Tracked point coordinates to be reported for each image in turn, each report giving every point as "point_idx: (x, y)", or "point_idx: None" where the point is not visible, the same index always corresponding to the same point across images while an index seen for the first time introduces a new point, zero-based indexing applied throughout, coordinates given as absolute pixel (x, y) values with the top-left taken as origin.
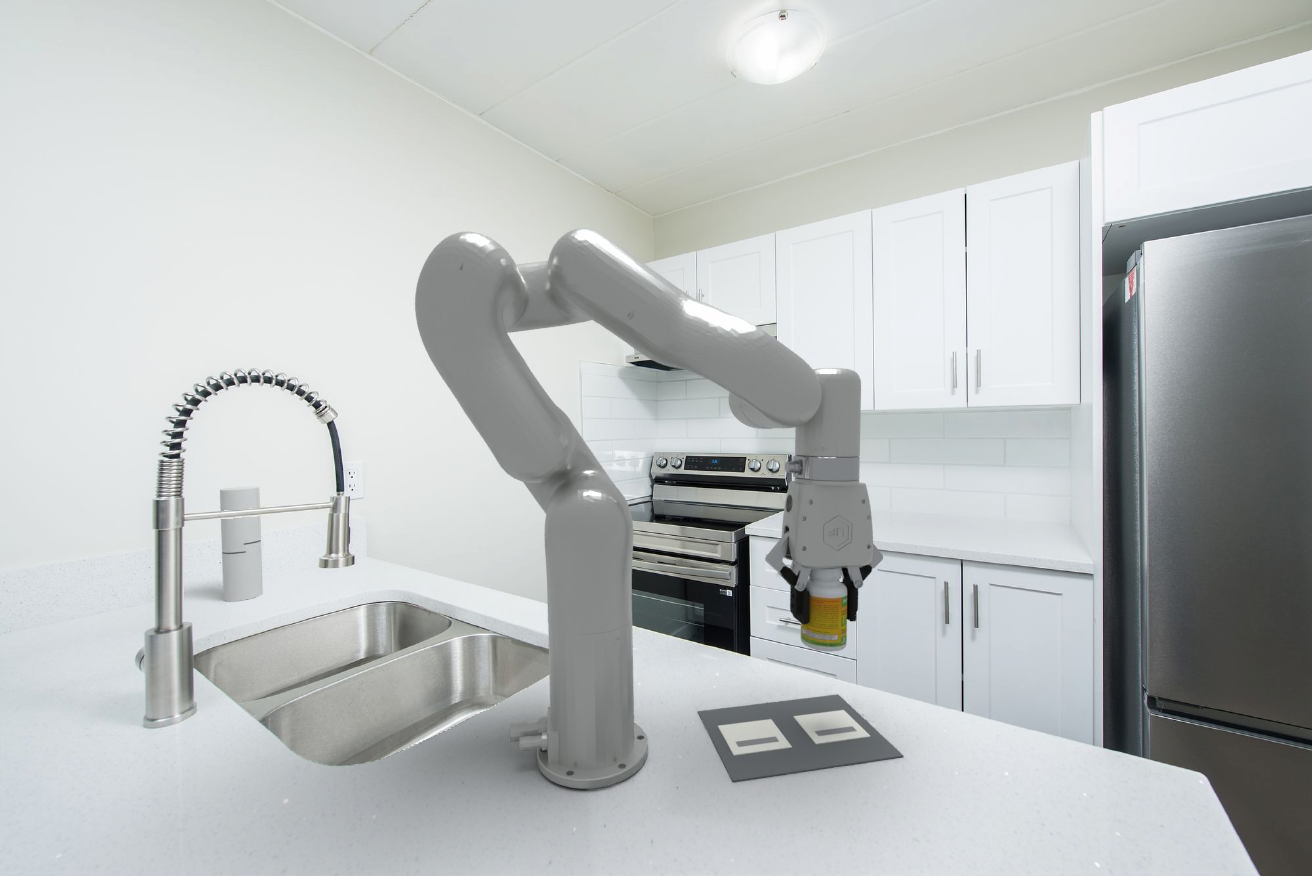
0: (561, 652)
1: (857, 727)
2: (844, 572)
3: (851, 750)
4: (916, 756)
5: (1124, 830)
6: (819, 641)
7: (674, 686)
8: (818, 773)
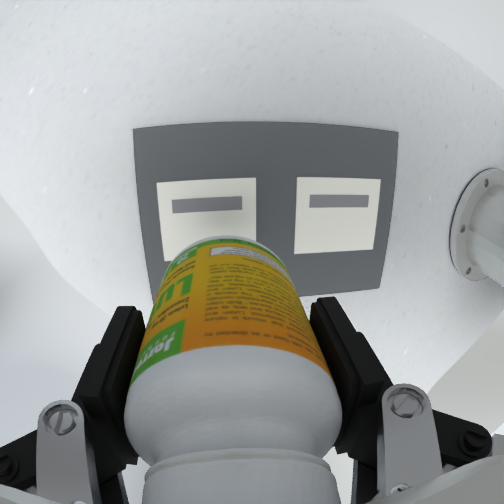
0: None
1: (165, 209)
2: (111, 493)
3: (207, 151)
4: (114, 129)
5: (8, 11)
6: (270, 257)
7: (374, 346)
8: (284, 114)
